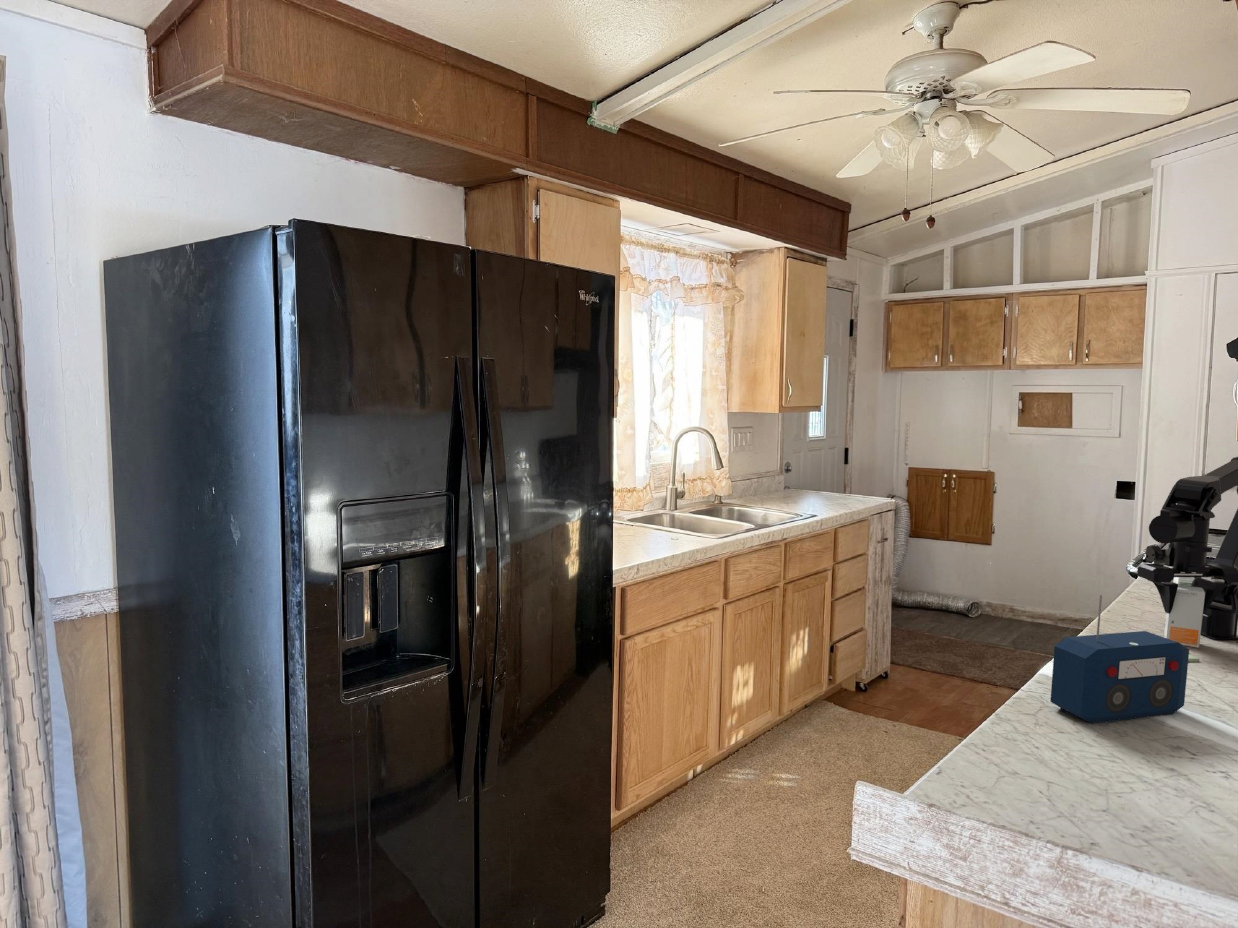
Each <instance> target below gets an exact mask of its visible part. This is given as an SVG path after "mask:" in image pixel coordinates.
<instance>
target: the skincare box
mask: <svg viewBox="0 0 1238 928" xmlns="http://www.w3.org/2000/svg"><path fill="white" fill-rule="evenodd" d="M1204 598H1205V592H1204V590H1203V588H1199V587H1190V586H1180V585H1178V588H1177V592H1176V596H1175V600H1174V604H1173V608H1172V611H1171V613H1170V614H1168V613H1166V612H1165V613H1166V614H1165V623H1164V633H1163V637H1164V638H1167V639H1170V640H1173V641H1176V642H1179V643H1180V644H1182V645H1183V646H1185V647H1191V648H1198V649H1199V648H1200V642H1201V635H1202V634H1201V625H1202V616H1203V607H1204Z"/></svg>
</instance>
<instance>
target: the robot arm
mask: <svg viewBox="0 0 1238 928" xmlns="http://www.w3.org/2000/svg"><path fill="white" fill-rule="evenodd" d="M1235 487H1236V494H1237V495H1238V456H1236V457H1232V458H1231V460H1230V461H1229V462H1227V463H1224V464H1223V465H1221V466H1219V467H1216V468H1214V469H1213V470H1212V471H1210V472H1208V473H1206V474H1204V475H1196V476H1187V477H1183V478H1179V479H1178V480H1177V481H1176V482H1175V484H1173V486H1172V488H1171V490H1170V492H1169V494H1168V496H1167V498H1166V500H1165V501H1164V504H1163V505H1162V507H1161V509H1160V511H1159V515H1157V516H1155V517H1154V518H1153V519H1152V520H1151V521H1150V523H1149V524H1148V525H1149V526H1148V532H1149V535H1150V536H1151V538H1152V539H1153V540H1154V541H1155V542H1157V543H1160V544H1168V548H1165V549H1164V548H1161V547H1160V545H1148V546H1146V550H1145V559H1146V561H1148V562H1153V563H1143V562H1142V563H1140V564H1139V566H1138V567H1137V571H1136V577H1140V578H1142V579H1145V580H1147V581H1148V582H1152V584H1153V585H1155V587H1156V589H1157V591H1158V594H1159V597H1160V600H1161V604H1162V607H1163V609H1164V612H1165V613H1168V614H1170V613H1171V611H1172V608H1173V604H1174V600H1175V596H1176V592H1177V588H1178V584H1176V583H1174V582H1173V581H1174V577H1194V578H1195V579H1194V580H1193V582H1192V587H1199V588H1203V590H1204V592H1205V598H1204V607H1203V616H1202V625H1201V634H1200V635H1202V636H1205V637H1207V638H1210V639H1212V640H1216V641H1217V640H1221V641H1223V640H1233V641H1234V640H1238V635H1237V634H1238V508H1237V509H1236V511H1235V513H1234V515H1233V518H1232V521H1231V522H1230V525H1229V527H1228V529H1227V531H1226V533H1225V536H1224V538H1223V540H1222V542H1221V544H1220V546H1219V549H1218V552H1217V554H1216V555H1215V557H1214V560H1212V561H1210V562H1207V555H1208V554H1207V553H1212V551H1213V547H1211V546H1208V545H1209V544H1208V543H1209V532H1210V521H1211V519H1214V518H1215V517H1216V515H1215V513H1214V512H1213V511H1212V510H1213V508H1214V507H1215V506H1217V505H1218V504H1219V503H1220V502H1221V501H1222V495H1223V494H1224V493H1226V492H1227V491H1230V490H1231V489H1233V488H1235ZM1180 572H1182V573H1180ZM1183 572H1184V573H1183ZM1192 572H1193V573H1192ZM1194 572H1196V573H1194Z"/></svg>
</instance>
